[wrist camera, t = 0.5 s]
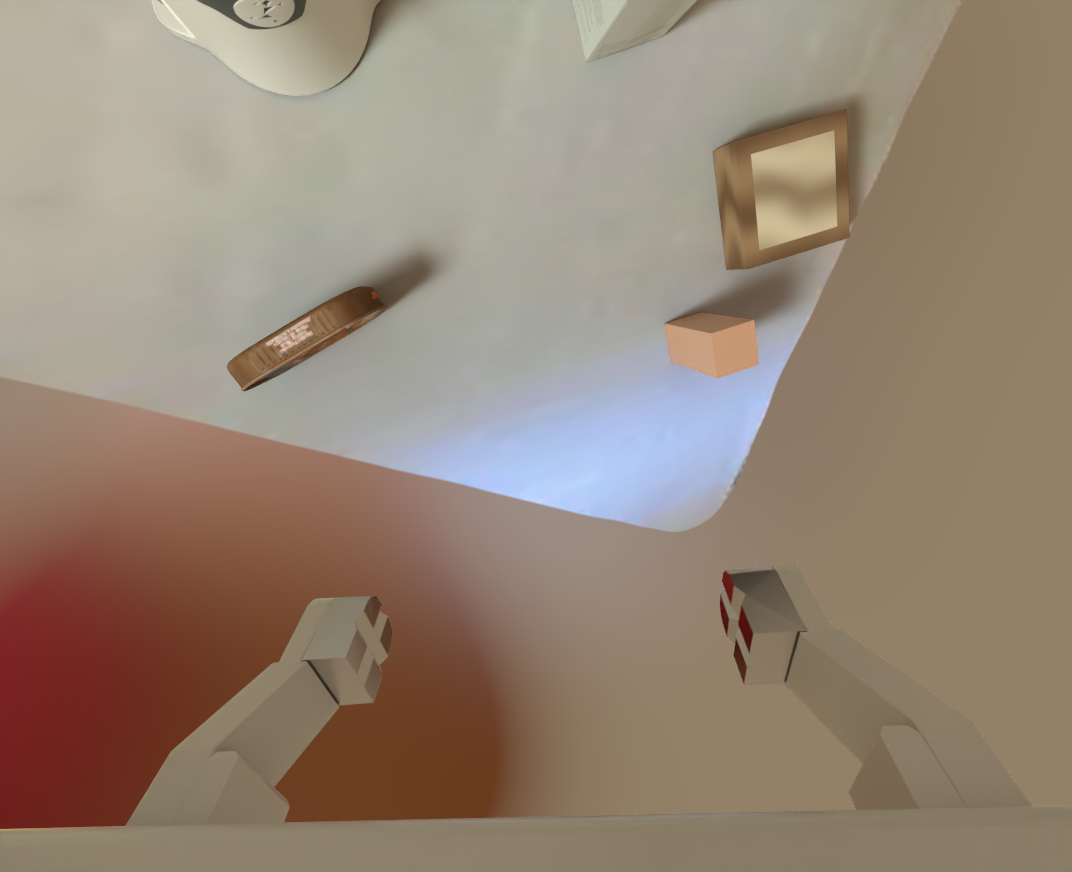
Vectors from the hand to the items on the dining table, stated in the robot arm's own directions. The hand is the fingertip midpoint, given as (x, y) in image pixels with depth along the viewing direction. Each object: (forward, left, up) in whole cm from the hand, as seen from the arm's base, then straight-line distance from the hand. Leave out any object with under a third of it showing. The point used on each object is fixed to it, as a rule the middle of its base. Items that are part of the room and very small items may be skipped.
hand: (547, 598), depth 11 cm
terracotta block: (+6, +25, -42) cm, 49 cm away
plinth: (-6, +37, -42) cm, 56 cm away
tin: (-6, -13, -42) cm, 45 cm away
